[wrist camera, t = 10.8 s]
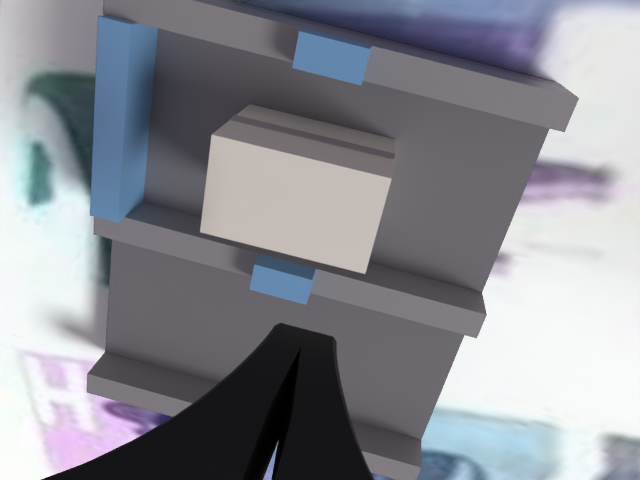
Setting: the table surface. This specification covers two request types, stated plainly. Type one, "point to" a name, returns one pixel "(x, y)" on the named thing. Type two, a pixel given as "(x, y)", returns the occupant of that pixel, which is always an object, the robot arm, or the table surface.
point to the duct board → (282, 269)
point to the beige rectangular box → (297, 186)
